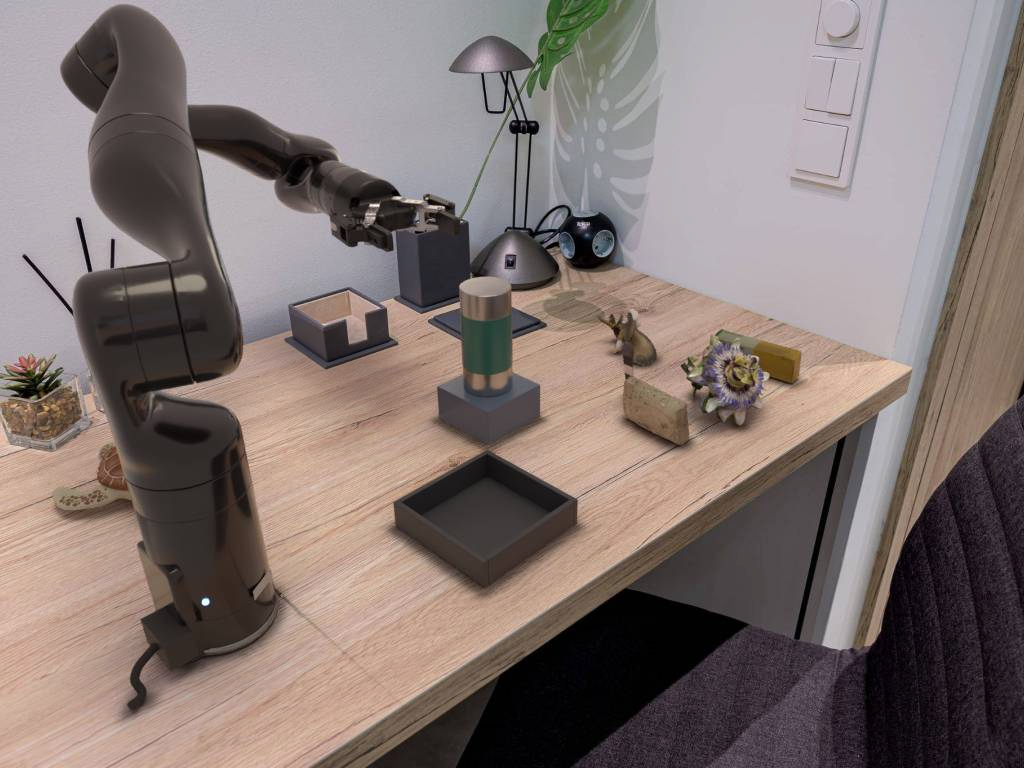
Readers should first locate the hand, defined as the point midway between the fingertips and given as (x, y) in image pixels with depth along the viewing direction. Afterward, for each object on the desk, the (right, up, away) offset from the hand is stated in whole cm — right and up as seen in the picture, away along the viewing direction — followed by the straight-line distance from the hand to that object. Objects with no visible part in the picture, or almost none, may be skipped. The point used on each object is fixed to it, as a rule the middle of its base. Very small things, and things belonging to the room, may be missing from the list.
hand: (424, 235), depth 92 cm
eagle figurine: (+27, -12, +27) cm, 40 cm away
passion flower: (+36, -20, +13) cm, 43 cm away
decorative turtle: (-31, -28, 0) cm, 42 cm away
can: (+7, -17, +9) cm, 20 cm away
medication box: (+43, -15, +22) cm, 51 cm away
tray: (+7, -31, -7) cm, 33 cm away
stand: (+7, -21, +11) cm, 25 cm away
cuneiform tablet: (+27, -22, +10) cm, 36 cm away
